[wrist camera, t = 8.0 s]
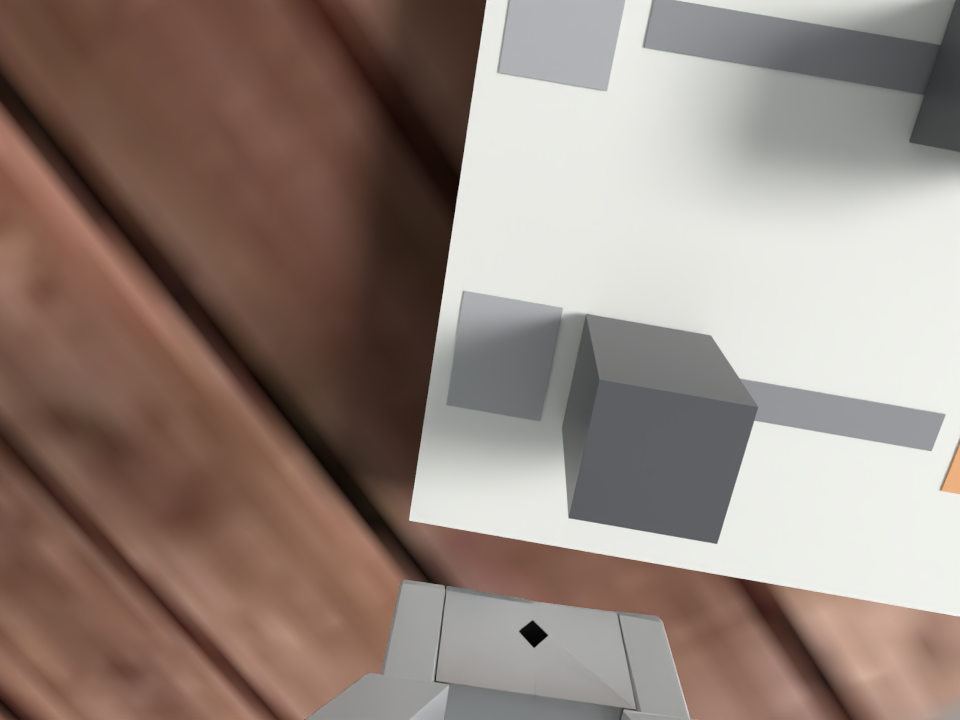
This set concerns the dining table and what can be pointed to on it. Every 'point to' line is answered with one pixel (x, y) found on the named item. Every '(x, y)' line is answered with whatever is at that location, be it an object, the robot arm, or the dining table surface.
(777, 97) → the breaker panel
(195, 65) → the dining table surface
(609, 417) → the block
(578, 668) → the robot arm
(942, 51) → the block
